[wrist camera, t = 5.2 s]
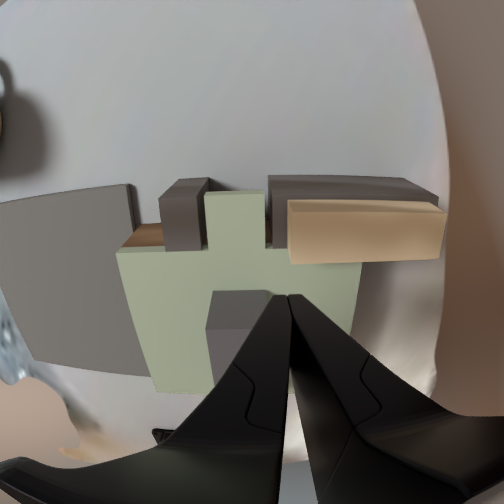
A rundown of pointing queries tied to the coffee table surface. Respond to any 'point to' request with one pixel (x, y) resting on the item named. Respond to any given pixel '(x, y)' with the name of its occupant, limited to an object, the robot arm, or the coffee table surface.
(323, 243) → the wooden block
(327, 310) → the toolbox lid
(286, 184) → the toolbox
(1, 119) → the ceramic mug
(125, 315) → the rubber mat
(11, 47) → the coffee table surface
